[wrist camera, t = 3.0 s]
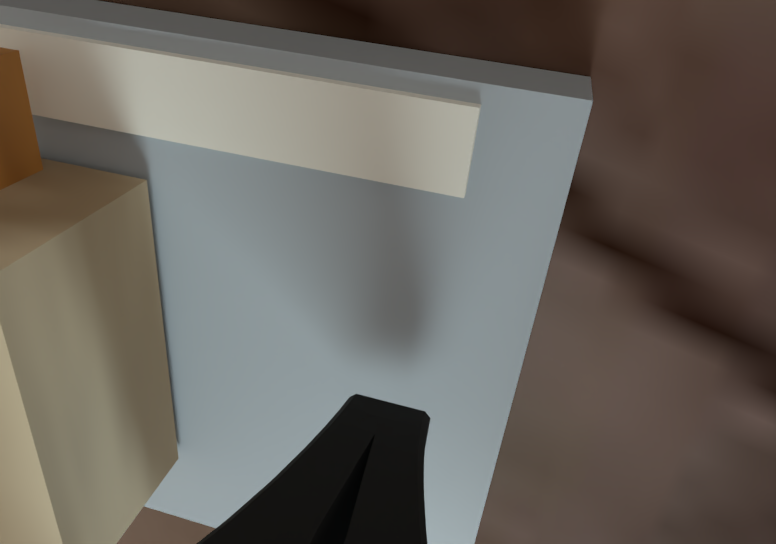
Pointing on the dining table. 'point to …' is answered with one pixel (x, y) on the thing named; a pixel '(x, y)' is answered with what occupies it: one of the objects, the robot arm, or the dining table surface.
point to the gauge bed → (317, 229)
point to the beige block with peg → (75, 342)
